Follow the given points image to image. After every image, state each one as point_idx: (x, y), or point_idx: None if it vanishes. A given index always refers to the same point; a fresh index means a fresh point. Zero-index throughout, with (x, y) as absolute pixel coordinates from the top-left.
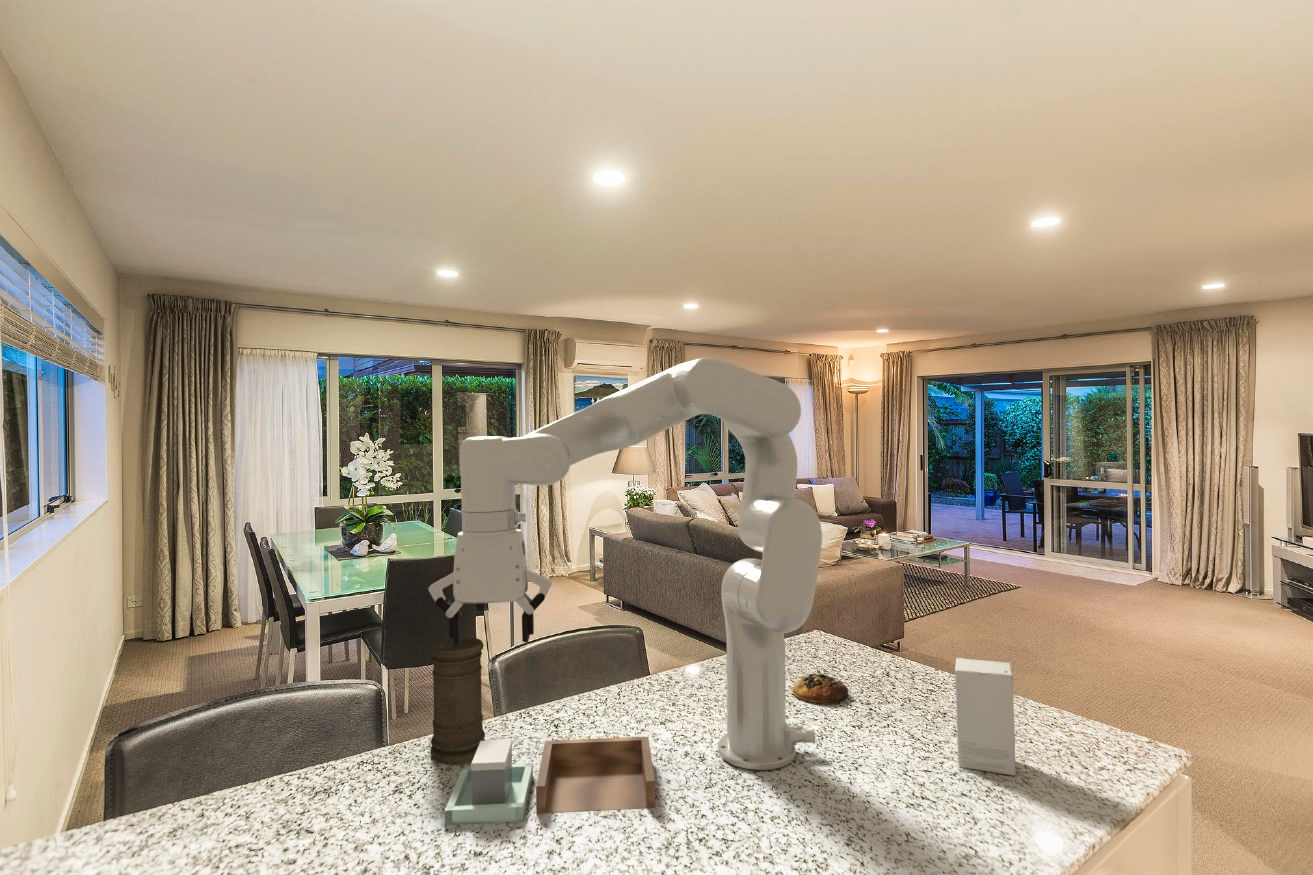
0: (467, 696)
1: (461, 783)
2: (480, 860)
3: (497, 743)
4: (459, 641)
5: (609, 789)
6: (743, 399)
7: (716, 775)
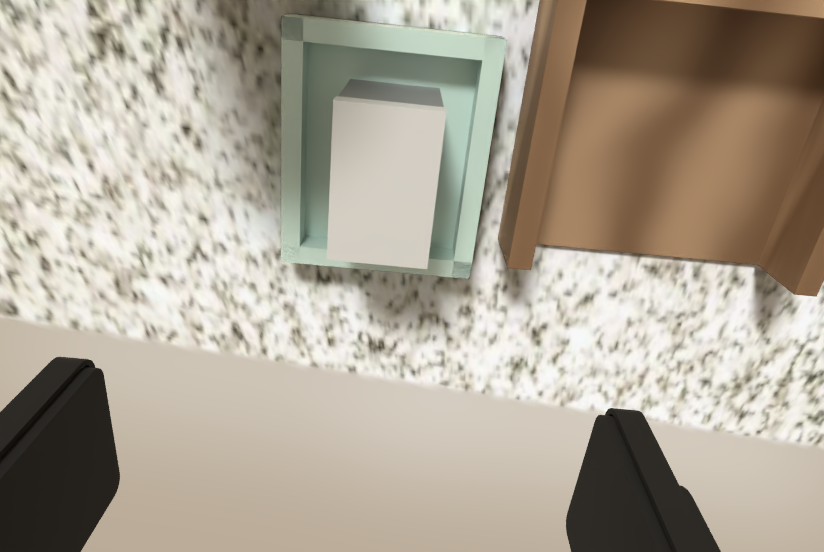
0: None
1: (297, 132)
2: (383, 365)
3: (396, 135)
4: (109, 474)
5: (700, 164)
6: None
7: None
